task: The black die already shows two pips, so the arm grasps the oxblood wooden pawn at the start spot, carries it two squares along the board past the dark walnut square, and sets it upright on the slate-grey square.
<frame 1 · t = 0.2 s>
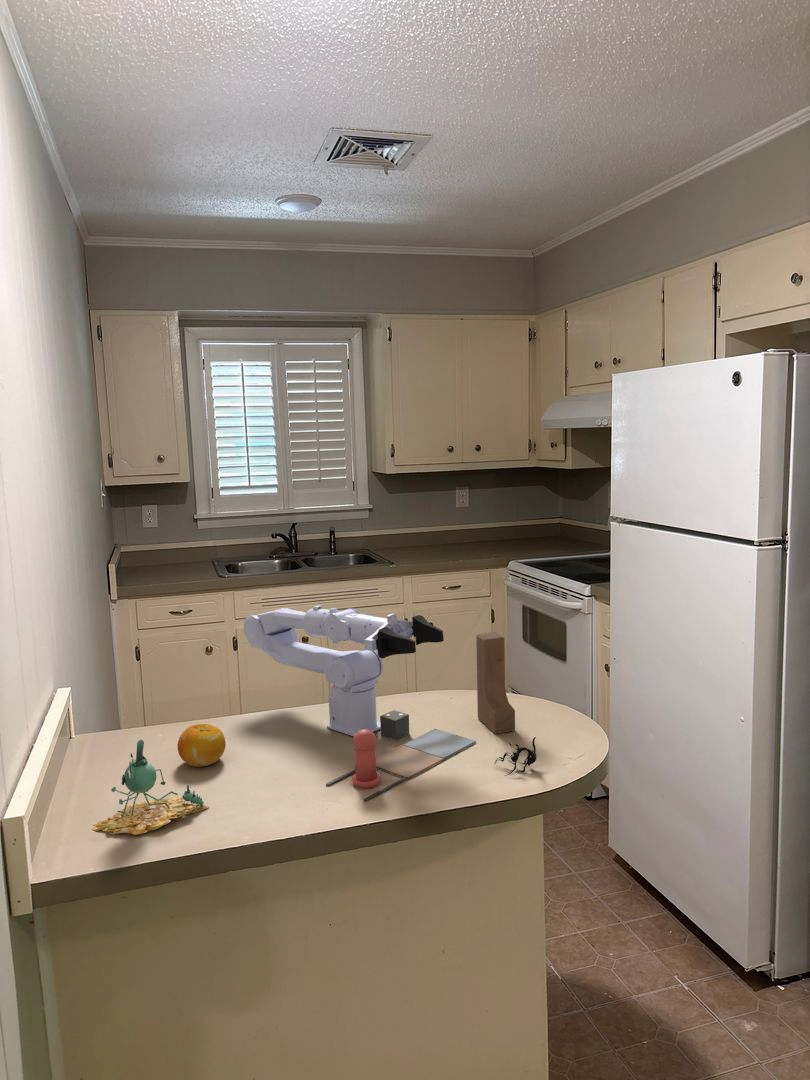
hand: (428, 641, 144), 21 cm above the countertop, fingers open, 7 cm apart
pawn: (366, 782, 136), on the countertop
board: (404, 762, 144), on the countertop
teal figurine on bark: (151, 823, 125), on the countertop
fruit: (202, 763, 147), on the countertop
die: (395, 734, 156), on the countertop
creature: (515, 769, 140), on the countertop
wooden block: (496, 725, 160), on the countertop
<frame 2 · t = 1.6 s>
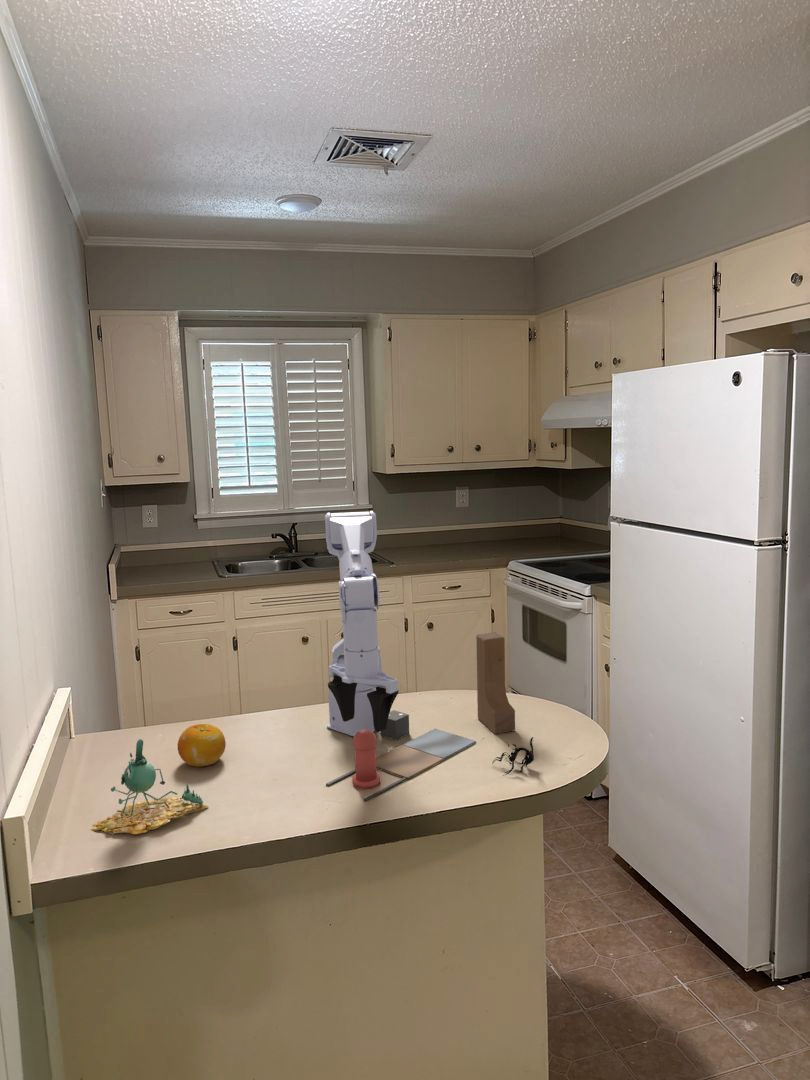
hand: (364, 724, 135), 10 cm above the countertop, fingers open, 7 cm apart
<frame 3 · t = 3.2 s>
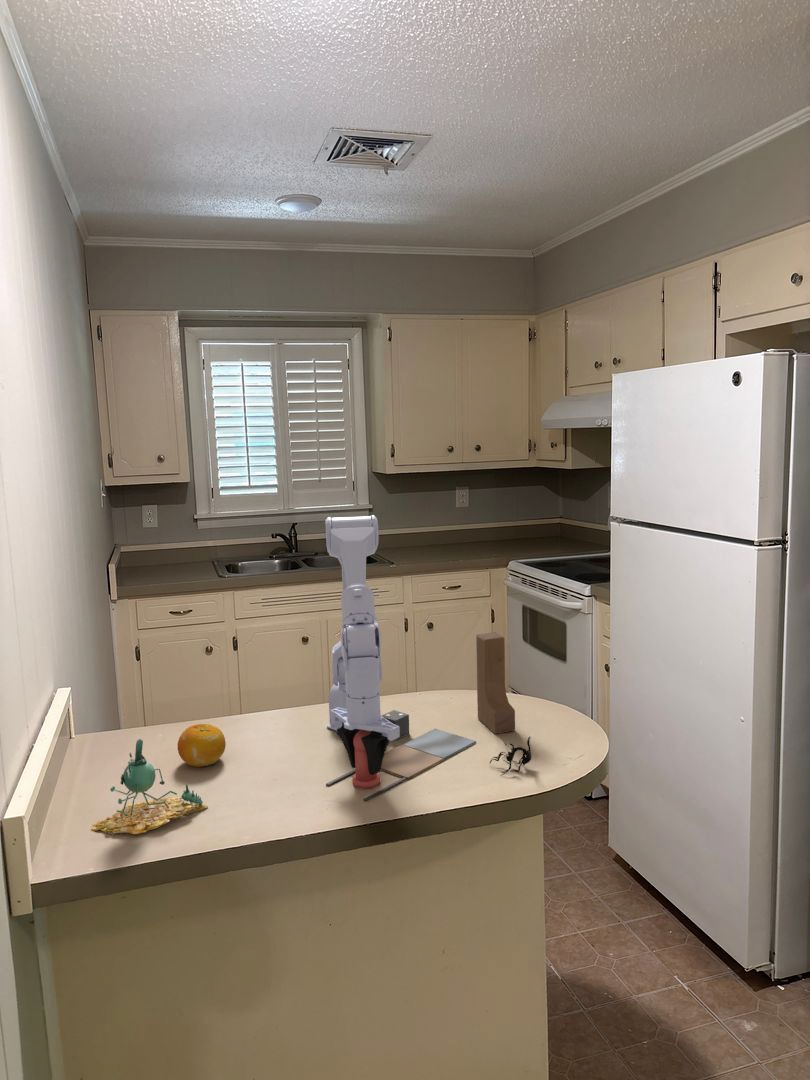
hand: (365, 769, 136), 2 cm above the countertop, fingers closed on pawn, 4 cm apart
pawn: (366, 782, 136), on the countertop, touching gripper
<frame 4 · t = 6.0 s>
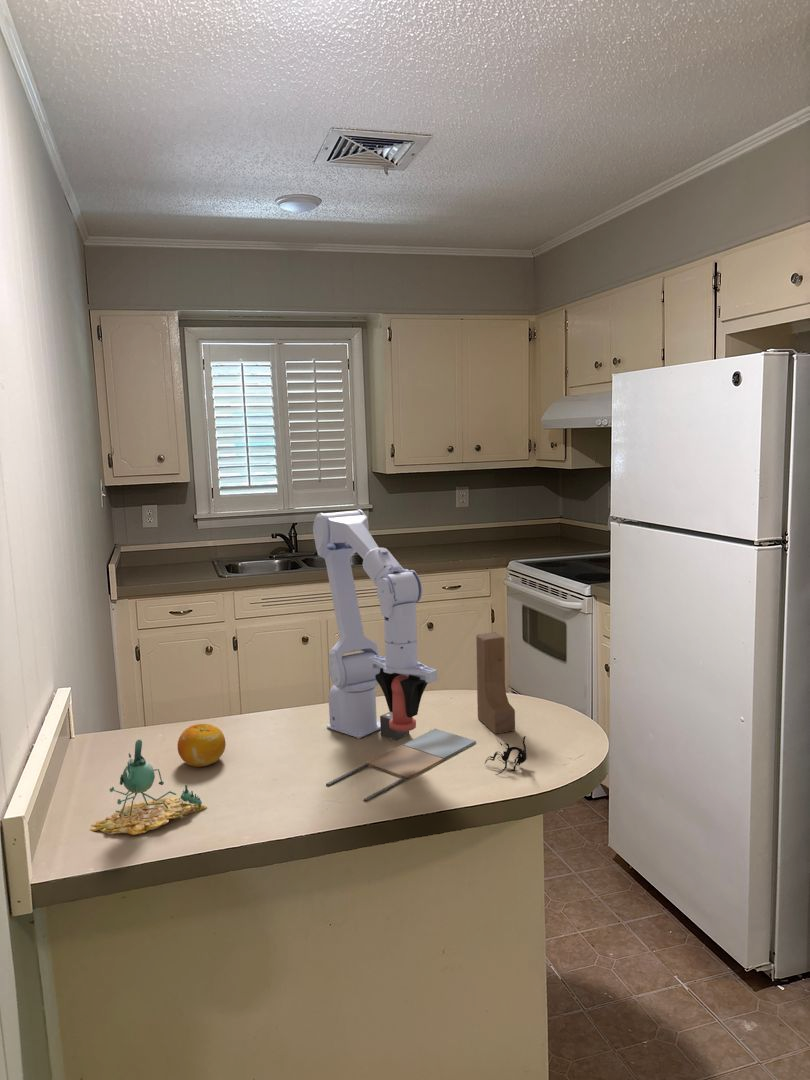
hand: (403, 713, 142), 9 cm above the countertop, fingers closed on pawn, 4 cm apart
pawn: (402, 726, 142), point 7 cm above the countertop, touching gripper
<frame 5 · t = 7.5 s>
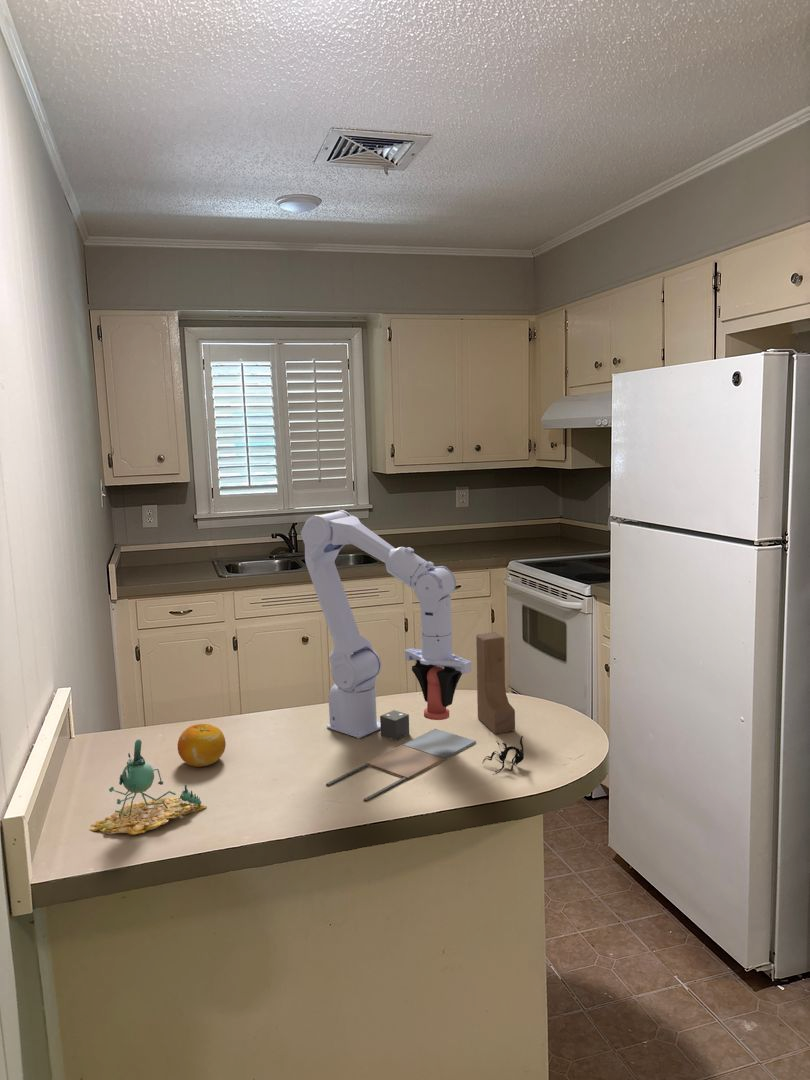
hand: (438, 702, 150), 8 cm above the countertop, fingers closed on pawn, 4 cm apart
pawn: (436, 715, 150), point 6 cm above the countertop, touching gripper
when the fingers open (4 cm above the countertop, at t = 8.8 s): pawn stays where it is, resting on board.
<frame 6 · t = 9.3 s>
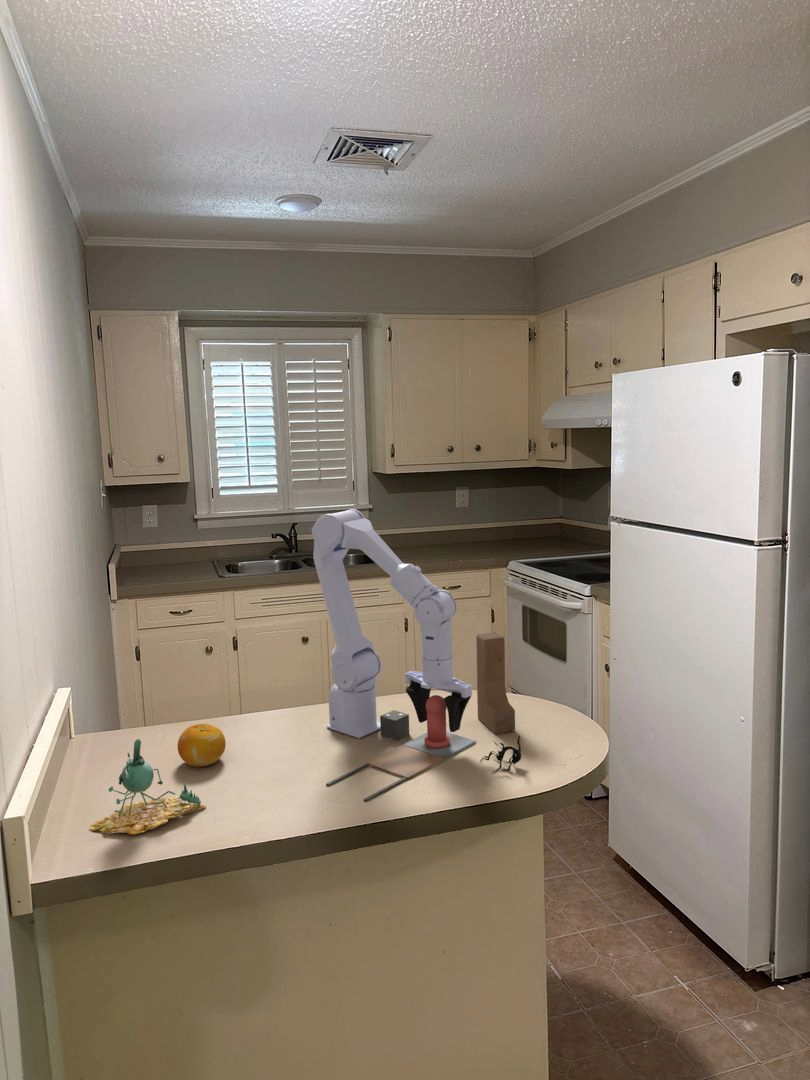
hand: (438, 725, 150), 4 cm above the countertop, fingers open, 7 cm apart
pawn: (437, 743, 151), resting on board
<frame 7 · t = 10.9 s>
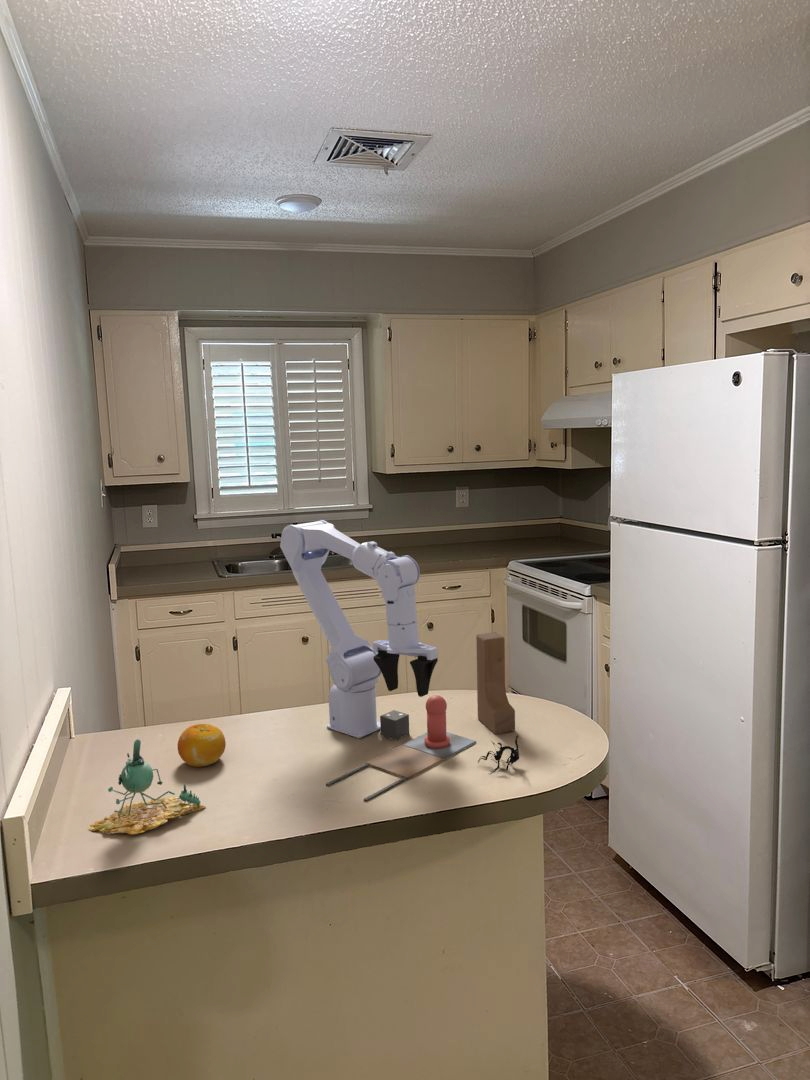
hand: (407, 692, 150), 10 cm above the countertop, fingers open, 7 cm apart
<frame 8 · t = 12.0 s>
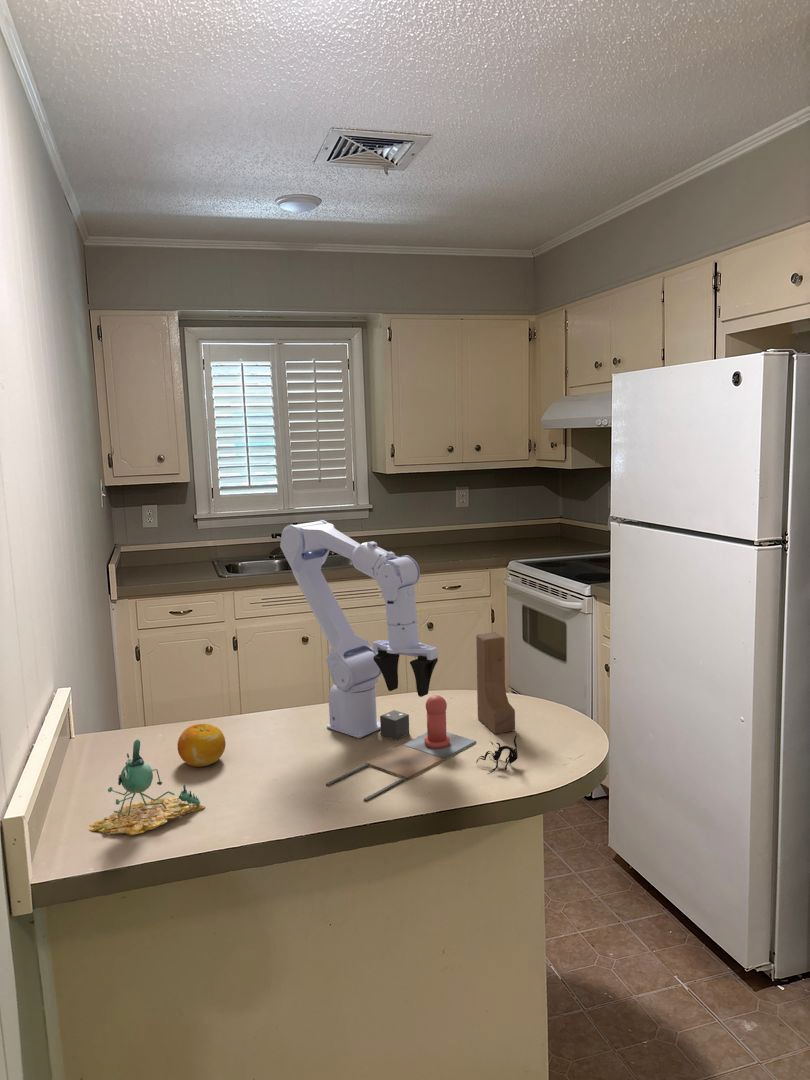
hand: (407, 692, 150), 10 cm above the countertop, fingers open, 7 cm apart
at the end: pawn inside the target area (0.6 cm from its centre), resting on board; pawn tilted 0°; the gripper is holding nothing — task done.
